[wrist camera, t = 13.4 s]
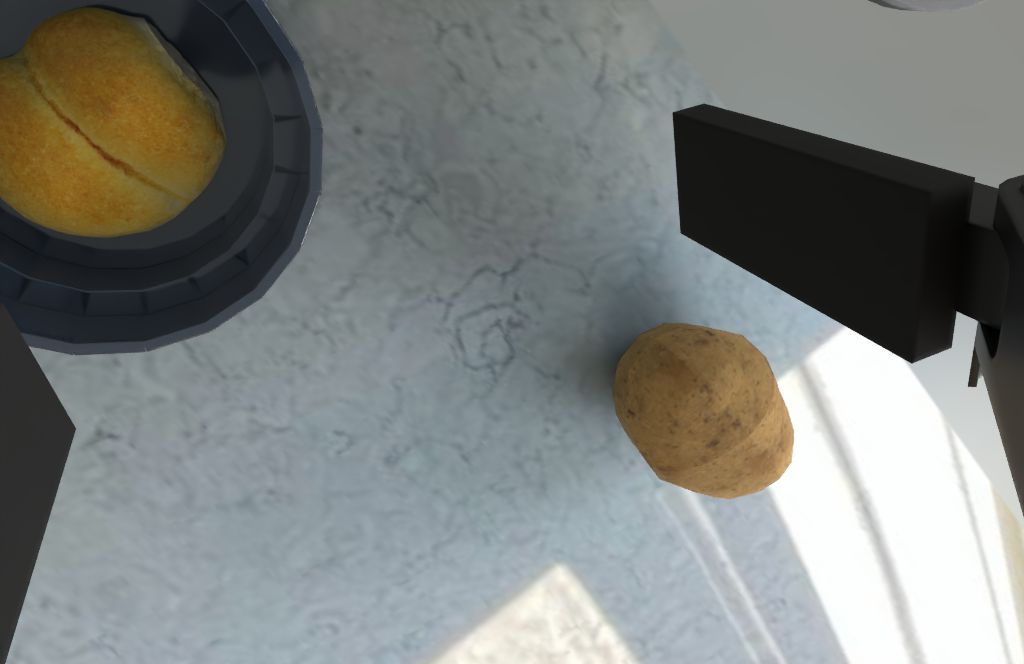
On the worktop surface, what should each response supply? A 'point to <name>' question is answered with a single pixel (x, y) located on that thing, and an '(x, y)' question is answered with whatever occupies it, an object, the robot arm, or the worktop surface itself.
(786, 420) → the potato
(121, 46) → the bread roll
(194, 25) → the blue grey bowl
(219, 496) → the worktop surface
